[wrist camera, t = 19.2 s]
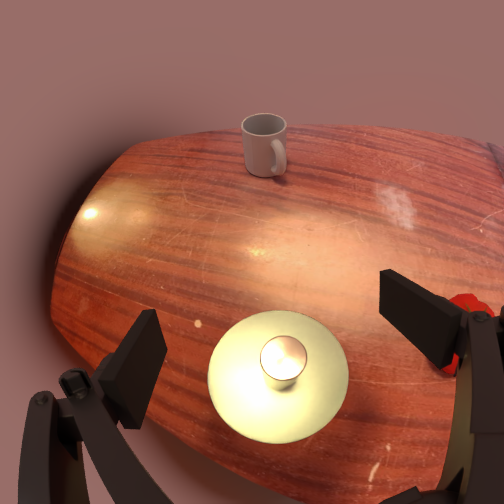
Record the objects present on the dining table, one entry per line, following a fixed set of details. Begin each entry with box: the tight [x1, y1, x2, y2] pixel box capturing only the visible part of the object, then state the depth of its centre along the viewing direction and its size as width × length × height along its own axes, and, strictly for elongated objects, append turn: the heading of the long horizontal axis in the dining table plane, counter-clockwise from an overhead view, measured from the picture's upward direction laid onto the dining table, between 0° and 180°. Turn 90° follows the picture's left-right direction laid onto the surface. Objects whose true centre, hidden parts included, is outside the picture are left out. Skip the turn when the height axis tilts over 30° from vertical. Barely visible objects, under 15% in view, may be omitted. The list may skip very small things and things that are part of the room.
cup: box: [241, 113, 287, 177], centre depth 44 cm, size 7×10×9 cm
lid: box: [208, 310, 349, 444], centre depth 19 cm, size 12×12×10 cm
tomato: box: [442, 294, 495, 374], centre depth 27 cm, size 10×11×7 cm
